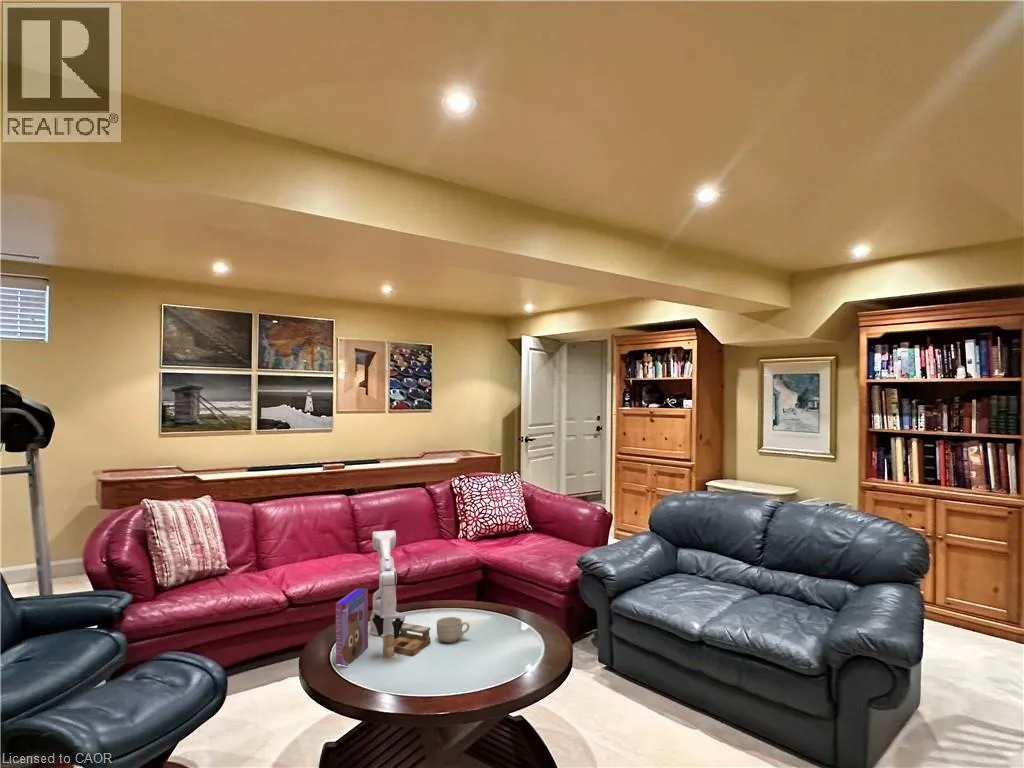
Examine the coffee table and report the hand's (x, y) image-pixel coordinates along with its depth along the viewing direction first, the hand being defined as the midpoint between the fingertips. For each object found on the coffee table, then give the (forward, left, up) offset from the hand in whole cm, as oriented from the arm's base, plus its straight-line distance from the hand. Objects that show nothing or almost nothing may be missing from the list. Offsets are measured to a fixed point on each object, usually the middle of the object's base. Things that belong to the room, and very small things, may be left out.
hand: (388, 636), depth 226 cm
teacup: (+16, +23, -8) cm, 29 cm away
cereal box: (-13, -5, -8) cm, 16 cm away
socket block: (+2, +10, -8) cm, 13 cm away
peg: (0, 0, -8) cm, 8 cm away
